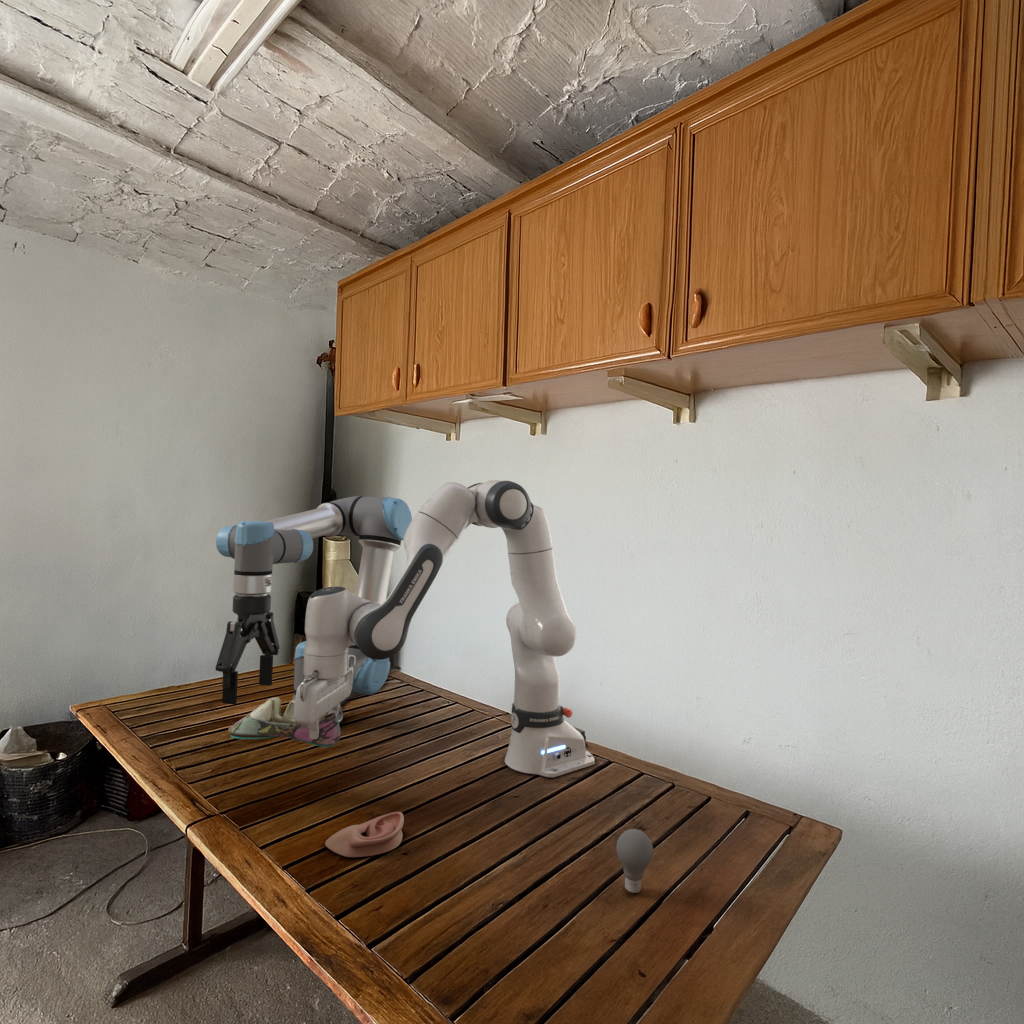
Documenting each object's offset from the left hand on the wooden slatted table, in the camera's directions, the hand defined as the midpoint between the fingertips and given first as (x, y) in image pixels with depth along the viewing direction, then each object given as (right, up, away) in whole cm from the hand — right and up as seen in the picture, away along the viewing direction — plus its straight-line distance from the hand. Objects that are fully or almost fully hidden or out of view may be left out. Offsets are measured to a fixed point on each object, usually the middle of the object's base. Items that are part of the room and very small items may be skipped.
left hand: (248, 693), depth 135 cm
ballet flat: (+8, -10, -1) cm, 13 cm away
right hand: (+17, -7, -2) cm, 18 cm away
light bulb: (+76, -25, -29) cm, 85 cm away
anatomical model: (+29, -22, -18) cm, 41 cm away
